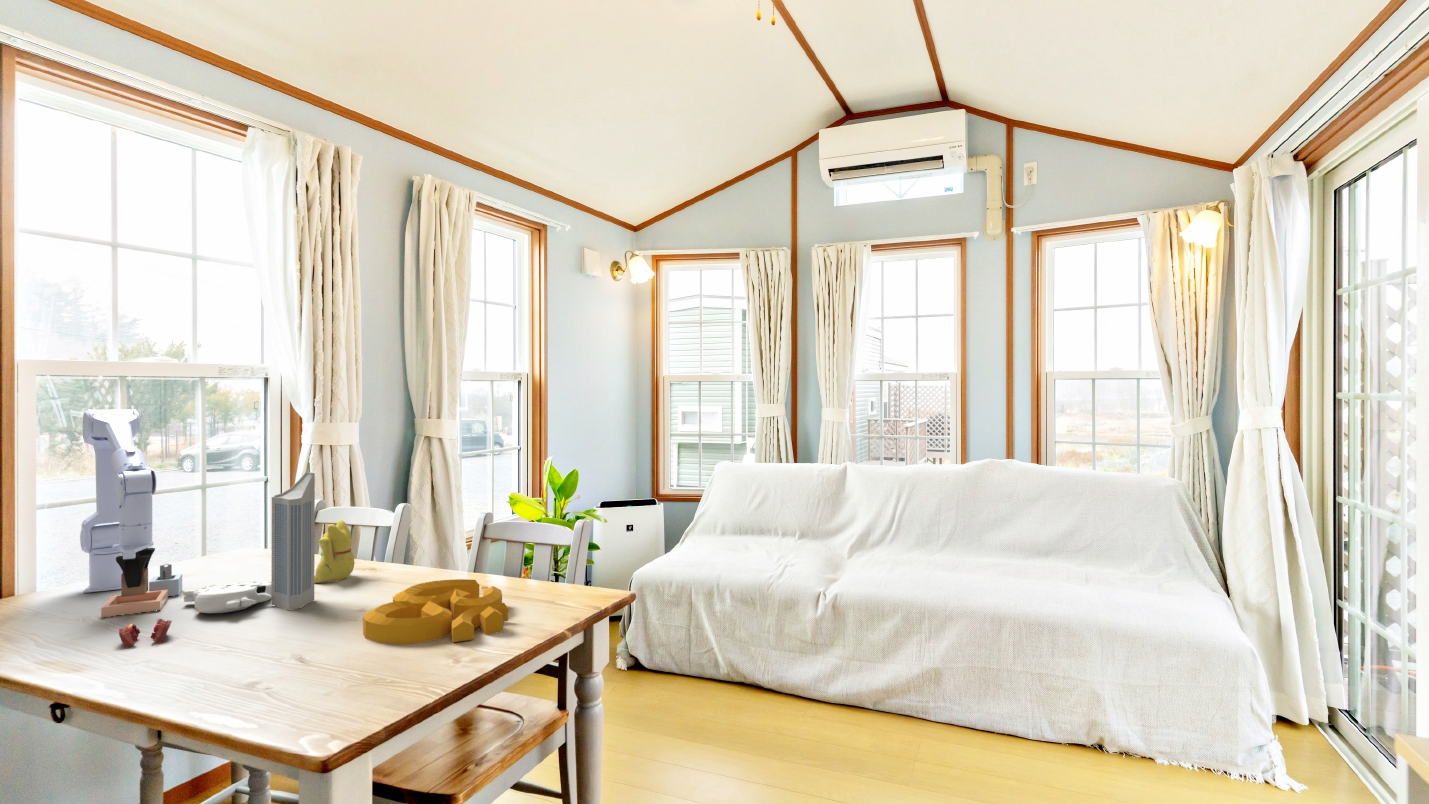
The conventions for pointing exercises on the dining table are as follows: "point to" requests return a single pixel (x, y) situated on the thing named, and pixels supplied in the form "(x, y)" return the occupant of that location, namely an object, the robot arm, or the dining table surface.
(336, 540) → the figurine
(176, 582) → the slate block
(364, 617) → the decorative symbol
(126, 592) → the walnut block
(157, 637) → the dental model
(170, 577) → the pin
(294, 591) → the building model
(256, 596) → the toy
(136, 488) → the robot arm
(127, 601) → the tray
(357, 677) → the dining table surface
